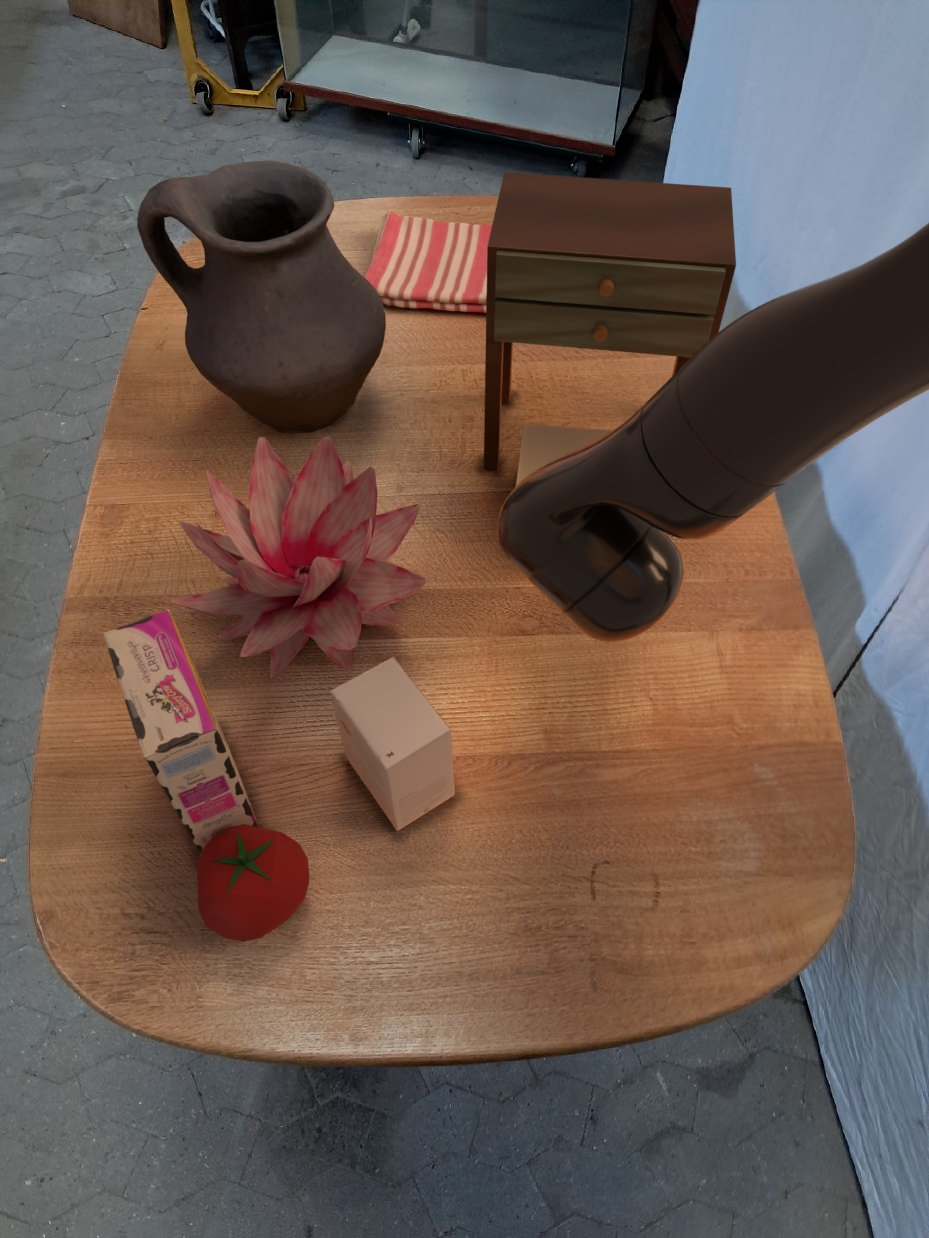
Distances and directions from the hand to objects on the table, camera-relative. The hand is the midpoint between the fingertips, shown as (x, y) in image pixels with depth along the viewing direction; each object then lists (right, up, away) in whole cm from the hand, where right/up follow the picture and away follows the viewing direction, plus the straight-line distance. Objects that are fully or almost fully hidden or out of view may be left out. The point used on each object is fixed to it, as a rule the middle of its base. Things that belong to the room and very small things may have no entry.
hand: (571, 527), depth 83 cm
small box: (-15, -21, -10) cm, 28 cm away
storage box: (0, +2, +7) cm, 7 cm away
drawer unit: (+3, +11, +14) cm, 18 cm away
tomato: (-25, -29, -16) cm, 41 cm away
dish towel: (-10, +35, +32) cm, 48 cm away
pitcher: (-29, +15, +17) cm, 37 cm away
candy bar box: (-30, -22, -10) cm, 39 cm away
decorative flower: (-24, -8, 0) cm, 25 cm away
